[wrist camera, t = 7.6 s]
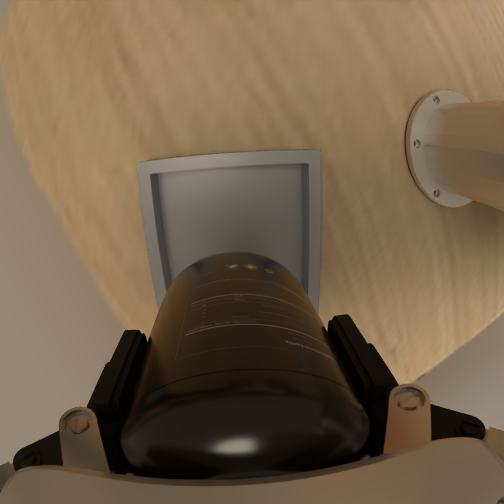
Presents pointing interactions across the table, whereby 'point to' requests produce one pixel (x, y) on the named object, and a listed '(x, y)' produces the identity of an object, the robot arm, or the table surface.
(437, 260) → the table surface
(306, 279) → the box
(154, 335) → the supplement bottle
